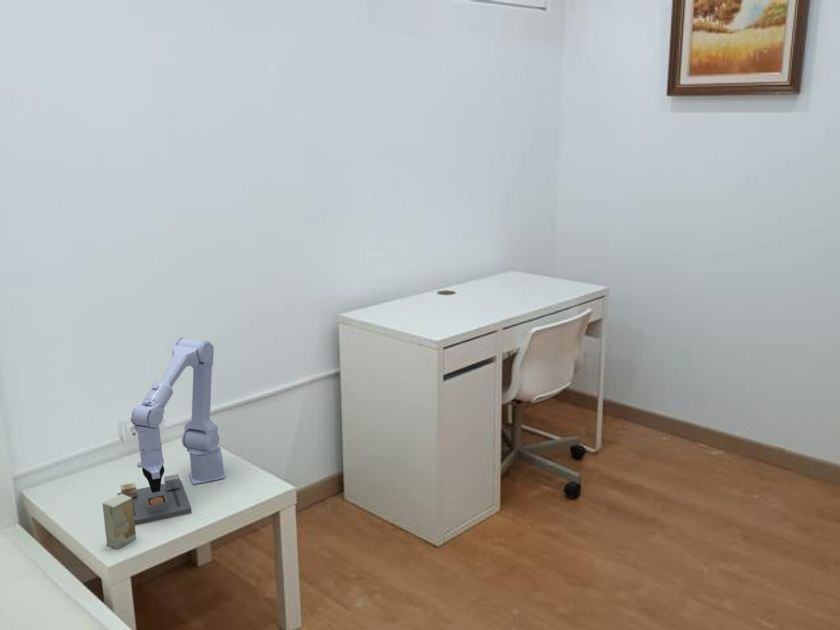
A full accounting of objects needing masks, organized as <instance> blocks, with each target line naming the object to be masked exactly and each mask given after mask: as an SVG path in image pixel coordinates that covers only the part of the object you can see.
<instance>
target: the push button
mask: <svg viewBox="0 0 840 630" xmlns="http://www.w3.org/2000/svg"><path fill="white" fill-rule="evenodd" d="M159 503H164V500H163V498H161V497H156V498H153V499H151V500H150V505H155V504H159Z"/></svg>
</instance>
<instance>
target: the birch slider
mask: <svg viewBox="0 0 840 630" xmlns="http://www.w3.org/2000/svg"><path fill="white" fill-rule="evenodd" d="M137 489H138V488H137V484H136V482H131V483H127V484H121V485H120V493H122V494H124V495H127V496H129V497H131V498H133V497H137Z"/></svg>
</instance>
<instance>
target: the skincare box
mask: <svg viewBox="0 0 840 630" xmlns="http://www.w3.org/2000/svg"><path fill="white" fill-rule="evenodd" d="M102 512H103V519H104V521H103V522H104V529H105V539H106V545H107V546H109V547H111V548H113V549H116V550H118V549H120V548H122V547H124V546H125V545H128V544H129V543H131V542H134V541H135V540H136V539H137V534H136V525H135V522H134V513H133V503H132V498H131V497H129V496H127V495H124V494H120V495H118V494H117V495H116V496H114V497H112V498H110V499H108V500H106V501H104V502H102Z"/></svg>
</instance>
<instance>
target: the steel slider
mask: <svg viewBox="0 0 840 630" xmlns="http://www.w3.org/2000/svg"><path fill="white" fill-rule="evenodd" d="M180 479H181V478H180V475H179V474H178V473H177V474H176V473H175V474H171V475H166V476H163V480H164V481H163V482H164V484H165V488H166V490H171V489H176V488H181V487H180Z"/></svg>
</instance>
